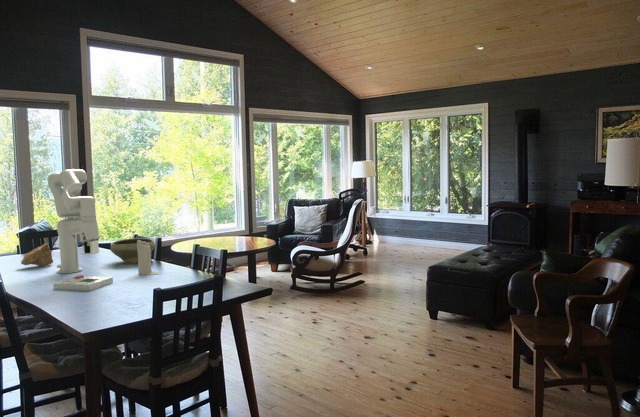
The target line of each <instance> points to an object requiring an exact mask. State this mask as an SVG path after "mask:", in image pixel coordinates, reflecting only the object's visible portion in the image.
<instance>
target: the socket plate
mask: <svg viewBox="0 0 640 417" xmlns="http://www.w3.org/2000/svg"><path fill="white" fill-rule="evenodd" d="M113 279H114V277H113V276H94V275H93V276H91V275H83V274H82V275H81V274H79V275H77V276H73V277H70V278H67V279H64V280H60V281H58V282H53V283H52V284H53V285H52V286H53V290H61V291H62V290H63V291H80V292H81V291H83V292H92V291H94V290H97V289H99V288H102V287H105V286H108V285H110V284H113V283H114V280H113Z"/></svg>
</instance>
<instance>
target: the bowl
mask: <svg viewBox="0 0 640 417" xmlns="http://www.w3.org/2000/svg"><path fill="white" fill-rule="evenodd" d="M137 240H141V241H146V243H149V245H150V250H151V252H153V250H154V249H155V248H156V243H155V241H154V240H153V239H151V238H148V237H147V238H146V237H137V238H136V237H135V238H123V239H117V240H114V241H113V242H110V252H111V253H112V254H114V255H115V256H116V257H117V258H119V259H121V260H122V261H123V262H124V263H127V264H136V263H137V264H138V251H137Z"/></svg>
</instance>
